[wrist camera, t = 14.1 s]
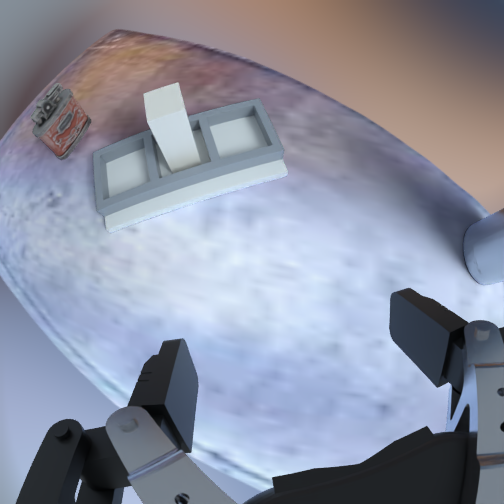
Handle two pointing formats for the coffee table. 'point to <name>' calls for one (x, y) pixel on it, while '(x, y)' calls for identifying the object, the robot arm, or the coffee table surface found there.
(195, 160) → the clay bar
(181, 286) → the coffee table surface
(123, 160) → the rack
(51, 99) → the lighter
